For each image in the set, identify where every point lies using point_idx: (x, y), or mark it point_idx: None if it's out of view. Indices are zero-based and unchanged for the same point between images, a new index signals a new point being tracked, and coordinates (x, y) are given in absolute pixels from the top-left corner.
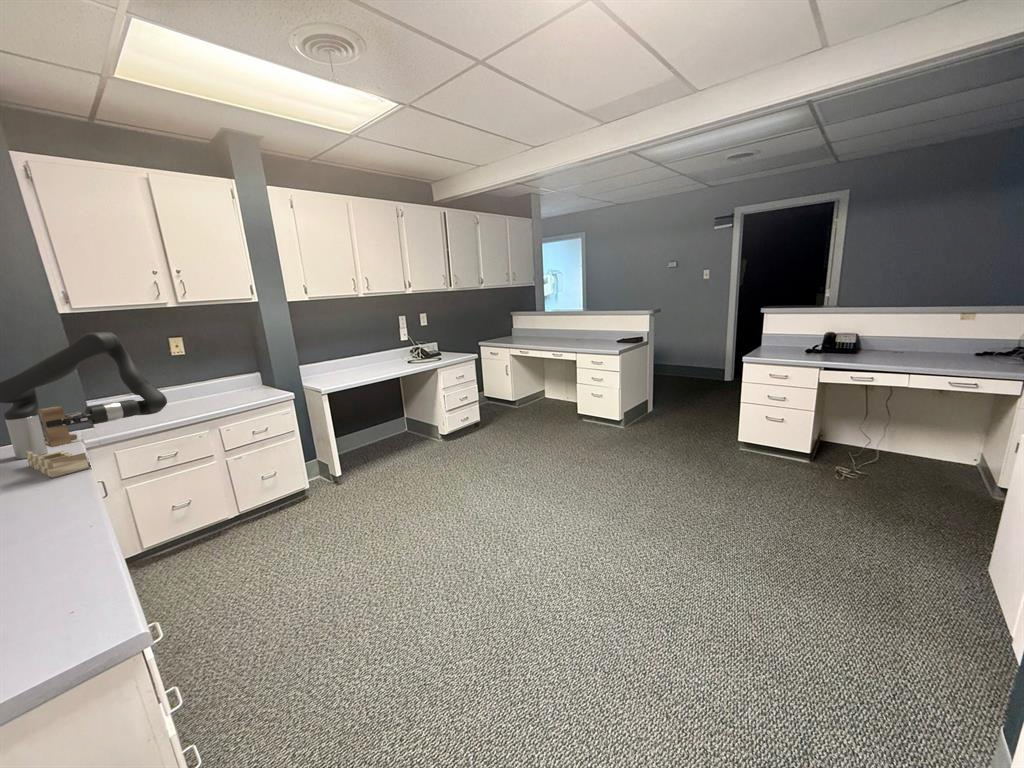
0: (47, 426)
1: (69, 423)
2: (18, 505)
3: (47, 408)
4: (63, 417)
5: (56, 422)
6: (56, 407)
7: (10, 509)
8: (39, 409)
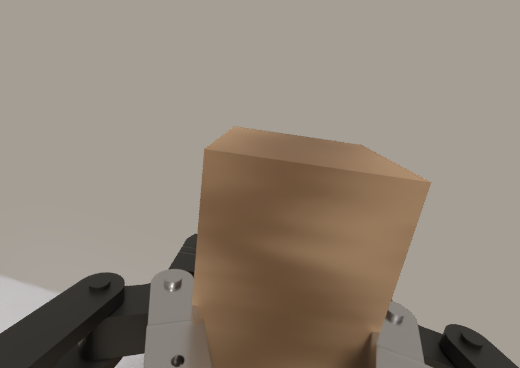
0: None
1: (79, 345)
2: (15, 296)
3: (334, 148)
4: (197, 285)
5: (173, 264)
6: (294, 153)
7: (14, 282)
8: (348, 143)
